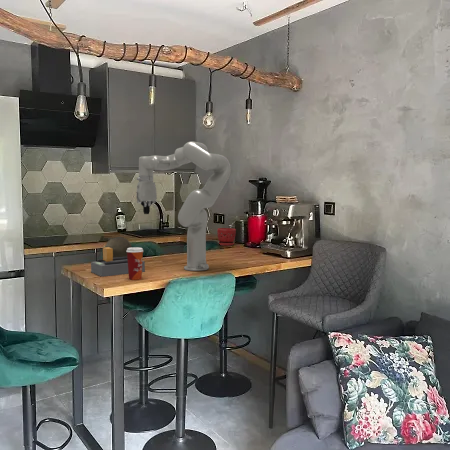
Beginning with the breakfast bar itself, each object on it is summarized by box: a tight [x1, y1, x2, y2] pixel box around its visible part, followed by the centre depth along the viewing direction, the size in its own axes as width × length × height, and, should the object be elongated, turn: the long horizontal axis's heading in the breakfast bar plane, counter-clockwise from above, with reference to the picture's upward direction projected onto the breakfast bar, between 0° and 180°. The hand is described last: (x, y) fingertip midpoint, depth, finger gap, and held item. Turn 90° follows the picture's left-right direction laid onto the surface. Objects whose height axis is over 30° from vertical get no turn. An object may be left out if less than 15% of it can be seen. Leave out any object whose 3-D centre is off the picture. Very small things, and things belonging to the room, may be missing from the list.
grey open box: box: [90, 257, 146, 278], centre depth 225 cm, size 14×22×6 cm, turn 126°
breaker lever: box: [102, 247, 113, 262], centre depth 222 cm, size 5×3×8 cm, turn 36°
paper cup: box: [126, 246, 144, 281], centre depth 209 cm, size 8×8×14 cm
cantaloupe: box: [104, 236, 132, 258], centre depth 244 cm, size 14×14×15 cm
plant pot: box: [216, 227, 237, 247], centre depth 328 cm, size 13×13×12 cm
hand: (146, 213), depth 247 cm, fingers closed
